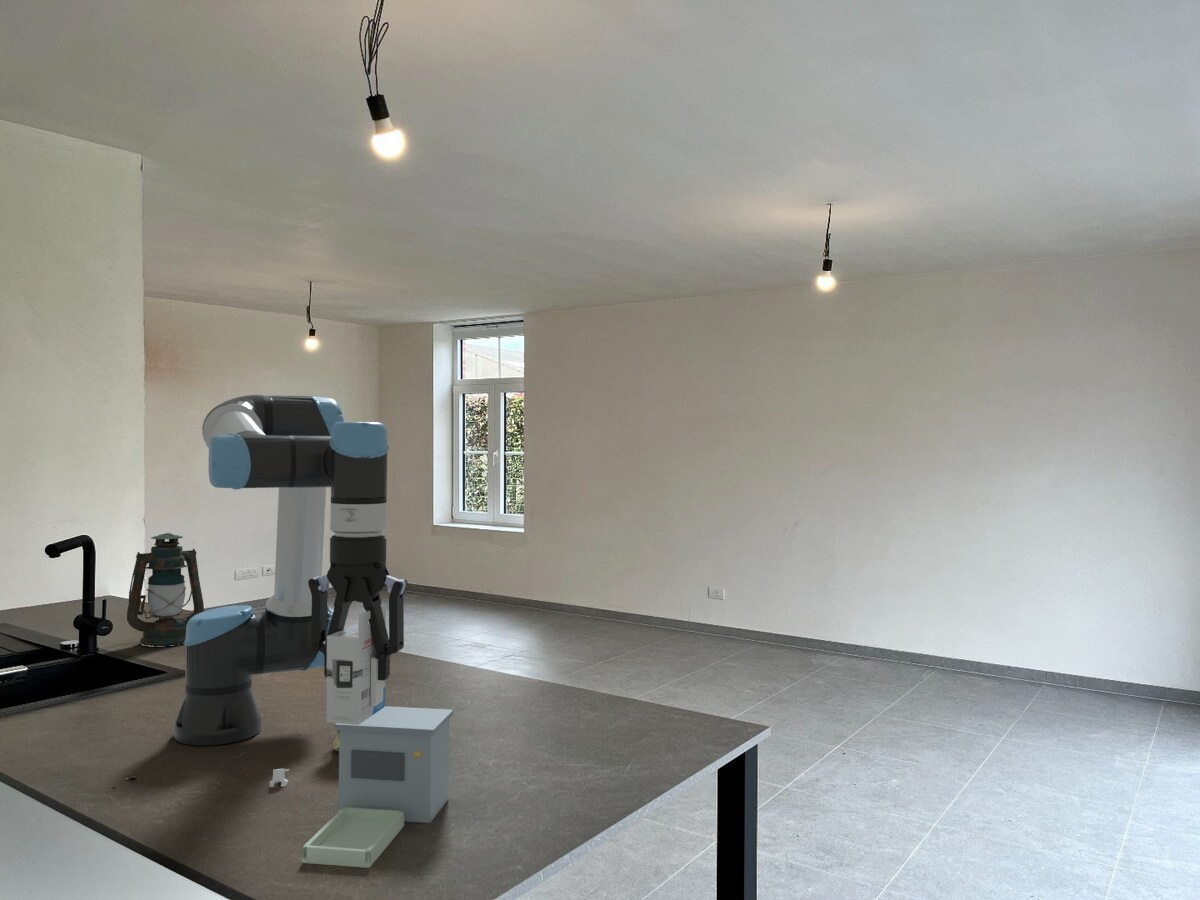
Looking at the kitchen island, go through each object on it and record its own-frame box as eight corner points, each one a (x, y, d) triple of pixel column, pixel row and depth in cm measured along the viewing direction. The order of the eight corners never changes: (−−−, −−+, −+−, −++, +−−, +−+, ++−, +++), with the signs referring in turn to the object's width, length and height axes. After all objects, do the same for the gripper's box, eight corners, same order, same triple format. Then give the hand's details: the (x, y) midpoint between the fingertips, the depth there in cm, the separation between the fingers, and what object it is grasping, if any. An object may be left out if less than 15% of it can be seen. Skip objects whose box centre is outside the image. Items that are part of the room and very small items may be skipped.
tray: (302, 862, 119) (302, 846, 119) (343, 821, 132) (343, 806, 132) (369, 867, 117) (369, 851, 117) (404, 825, 130) (404, 811, 130)
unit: (333, 817, 133) (334, 724, 133) (360, 792, 143) (361, 704, 143) (432, 824, 131) (433, 729, 131) (452, 797, 141) (453, 709, 141)
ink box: (354, 705, 129) (355, 601, 129) (386, 707, 128) (387, 603, 128) (324, 723, 121) (325, 612, 120) (358, 725, 120) (359, 614, 120)
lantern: (132, 651, 234) (133, 536, 234) (119, 642, 245) (120, 532, 245) (210, 641, 247) (211, 532, 247) (194, 633, 258) (195, 528, 258)
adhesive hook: (269, 791, 144) (269, 771, 144) (268, 785, 146) (269, 766, 146) (289, 788, 145) (290, 769, 145) (288, 782, 147) (288, 763, 147)
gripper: (283, 534, 122) (281, 706, 122) (412, 538, 119) (410, 713, 119) (308, 529, 129) (306, 691, 129) (430, 532, 127) (428, 697, 127)
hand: (356, 701), depth 124 cm, fingers closed on ink box, 5 cm apart
